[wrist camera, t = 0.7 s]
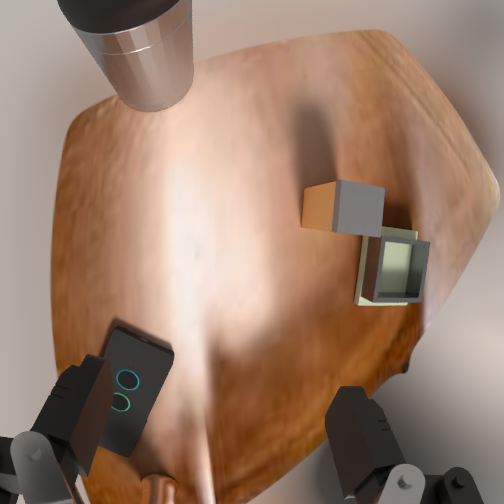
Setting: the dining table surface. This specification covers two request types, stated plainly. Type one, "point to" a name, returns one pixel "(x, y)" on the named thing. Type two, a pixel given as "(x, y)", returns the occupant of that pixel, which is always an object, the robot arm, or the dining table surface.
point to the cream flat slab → (388, 265)
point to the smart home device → (132, 387)
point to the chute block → (344, 208)
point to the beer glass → (159, 489)
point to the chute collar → (376, 263)
